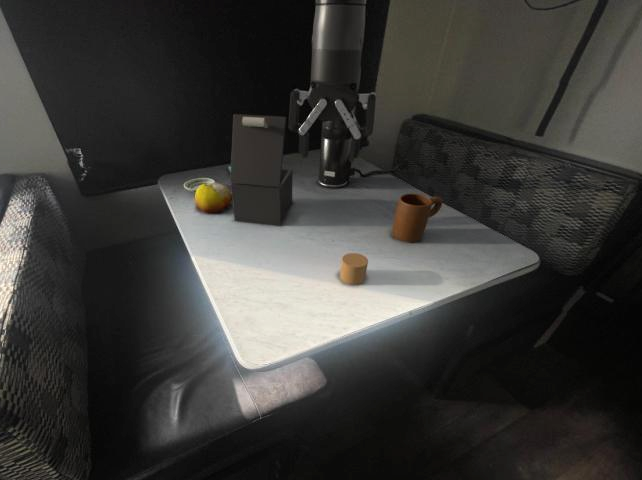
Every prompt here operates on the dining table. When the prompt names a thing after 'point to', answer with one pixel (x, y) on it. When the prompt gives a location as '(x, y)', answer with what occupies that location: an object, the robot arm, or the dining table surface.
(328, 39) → the robot arm
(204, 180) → the saucer
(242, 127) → the lid
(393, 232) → the mug
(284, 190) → the dark gray cube box
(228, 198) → the fruit
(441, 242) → the dining table surface
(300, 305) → the dining table surface
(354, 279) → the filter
